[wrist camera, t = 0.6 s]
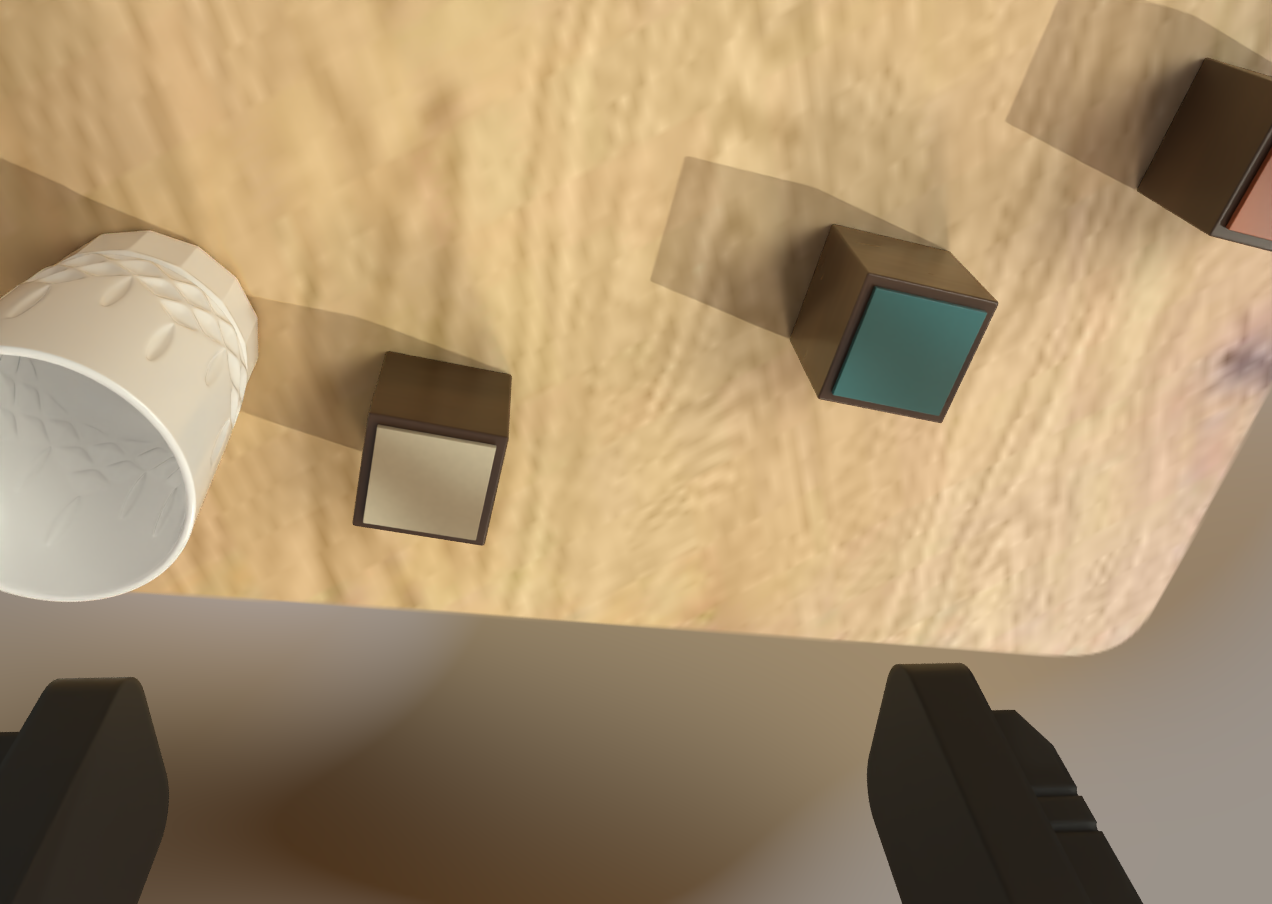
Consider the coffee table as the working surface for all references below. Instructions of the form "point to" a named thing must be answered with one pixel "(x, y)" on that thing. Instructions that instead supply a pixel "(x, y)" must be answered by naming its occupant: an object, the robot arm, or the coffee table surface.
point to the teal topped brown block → (890, 324)
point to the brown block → (433, 449)
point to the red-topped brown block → (1219, 156)
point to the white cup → (115, 411)
